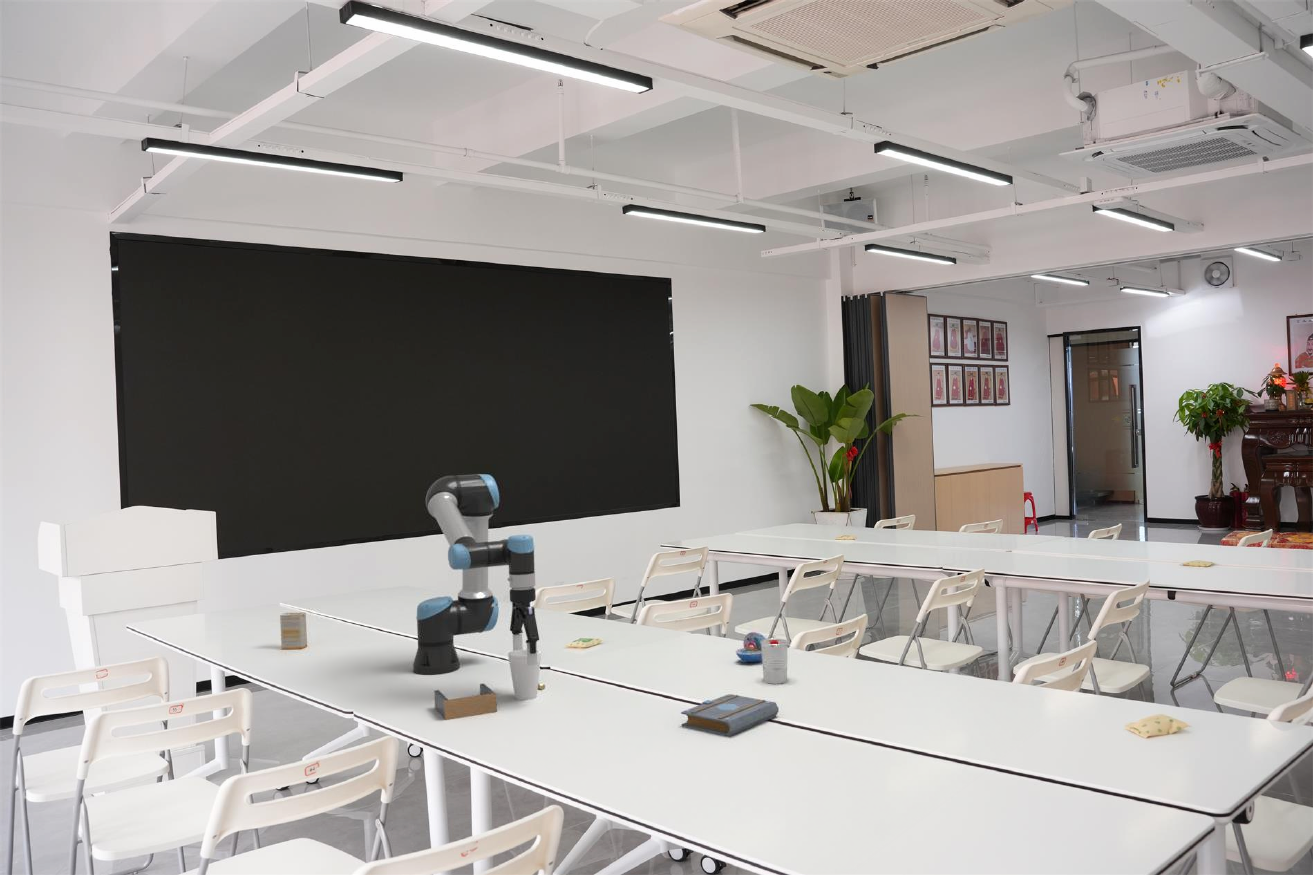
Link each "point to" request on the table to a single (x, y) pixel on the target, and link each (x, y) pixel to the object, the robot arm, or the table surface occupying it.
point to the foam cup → (524, 674)
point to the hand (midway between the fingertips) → (525, 660)
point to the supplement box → (293, 630)
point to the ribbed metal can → (774, 660)
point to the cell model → (751, 648)
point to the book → (729, 714)
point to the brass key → (541, 686)
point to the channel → (466, 704)
